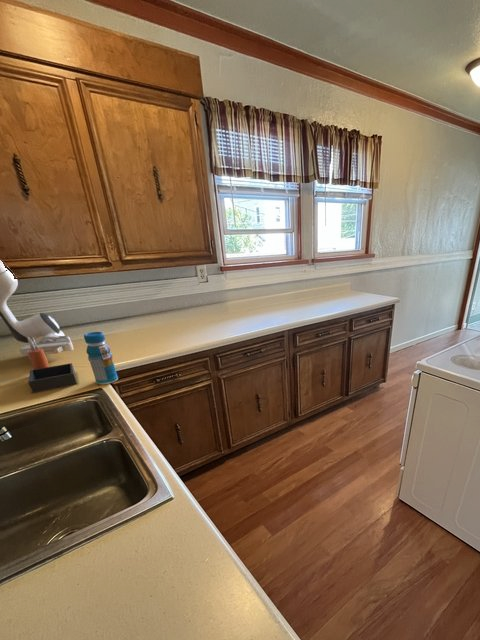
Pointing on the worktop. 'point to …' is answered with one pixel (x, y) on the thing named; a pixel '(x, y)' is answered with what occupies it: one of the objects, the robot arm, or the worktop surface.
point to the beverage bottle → (100, 358)
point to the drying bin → (52, 377)
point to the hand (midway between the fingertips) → (44, 352)
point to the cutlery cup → (37, 355)
